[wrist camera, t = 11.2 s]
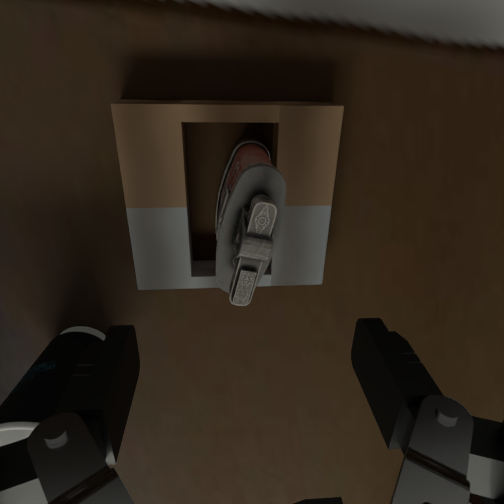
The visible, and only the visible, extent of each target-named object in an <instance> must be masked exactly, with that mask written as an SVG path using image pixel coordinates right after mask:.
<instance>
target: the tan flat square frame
mask: <svg viewBox="0 0 504 504" xmlns="http://www.w3.org/2000/svg"><path fill="white" fill-rule="evenodd" d="M111 109H112V116H113V122H114V129H115V136H116V143H117V150H118V157H119V163H120V170H121V177H122V184H123V191H124V198H125V204H126V211H127V218H128V225H129V232H130V239H131V245H132V252H133V259H134V266H135V273H136V280H137V286H138V290H156V289H188V288H220V287H219V286H218V284H217V282H216V260H206V261H193V250H192V234H191V218H190V202H189V186H188V169H187V153H186V137H185V122H253V123H273V139H272V162H271V163H272V165H273V166H274V167H275V168H276V169H277V170H279V171H280V173H281V174H282V176H283V178H284V180H285V182H286V199H285V209H284V217H283V221H282V225H281V230H280V234H279V238H278V242H277V245H276V247H275V250H274V252H273V255H272V257H271V260H270V263H269V265H268V267H267V269H266V271H265V272H264V274H263V276H262V278H261V280H260V282H259V283H258V285H257V286H283V285H315V284H322V278H323V270H324V262H325V254H326V246H327V238H328V230H329V222H330V214H331V206H332V198H333V190H334V182H335V174H336V166H337V158H338V150H339V142H340V134H341V126H342V118H343V110H344V106H342V105H340V104H337V103H334V102H300V101H215V100H129V99H120V100H118V101H116V102H113V103H111Z"/></svg>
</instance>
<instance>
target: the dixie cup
mask: <svg viewBox="0 0 504 504" xmlns="http://www.w3.org/2000/svg"><path fill="white" fill-rule="evenodd" d="M105 337H106V335H104V334H103V333H102V332H100V331H98V330H96V329H94V328H91V327H85V326H76V327H71V328H68V329H66V330H64V331H63V332H62V333H61V334H60V335H59V336H57V337H55V338H54V339H53V340H52V341H51V342H50V343H49V345H48V346H47V347H46V348H45V350H44V351H43V352H42V353H41V355H40V356H39V357H38V359H37V360H36V361H35V362H34V364H33V365H32V366H31V367H30V369H29V370H28V371H27V373H26V374H25V375H24V376H23V378H22V379H21V380H20V382H19V383H18V384H17V385H16V387H15V388H14V389H13V390H12V392H11V393H10V394H9V396H8V397H7V398H6V399H5V401H4V402H3V403H2V404H1V406H0V447H1V446H4V445H7V444H10V443H13V442H16V441H19V440H22V439H25V438H27V437H29V436H30V434H31V432H32V431H33V430H34V428H35V427H36V426H37V425H38V424H40V423H41V422H42V421H44V420H45V419H47V418H49V417H51V416H53V414H54V413H55V410H56V408H57V406H58V404H59V402H60V400H61V398H62V396H63V394H64V391H65V389H66V387H67V385H68V383H69V381H70V379H71V377H73V372H74V370H75V368H76V366H78V362H79V360H80V358H81V356H82V353H83V352H84V351H85V350H86V349H87V348H88V347H89V346H90V345H91V344H92V343H93V342H94V341H104V340H105Z"/></svg>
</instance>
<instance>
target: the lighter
mask: <svg viewBox="0 0 504 504" xmlns="http://www.w3.org/2000/svg"><path fill="white" fill-rule="evenodd" d="M285 199H286V182H285V180H284V178H283V176H282V174H281V173H280V171H279V170H277V169H276V168H275V167H274V166H273V165H272V163H271V161H270V153H269V151H268V150H267V148H266V146H265V145H264V144H263V143H262V142H260V141H258V140H256V139H244V140H241V141H240V142H238V143H237V144H236V145H235V147H234V148H233V150H232V153H231V155H230V157H229V160H228V162H227V164H226V167H225V169H224V173H223V176H222V179H221V183H220V186H219V191H218V198H217V205H216V240H217V246H216V282H217V284H218V286H219V287H220V288H221V289H222V290H224V291H225V292H227V293H229V298H230V302H231V303H232V304H234V305H238V306H246V305H248V304H249V303H250V301H251V298H252V295H253V292H254V289H255V288H256V286H257V285H258V283H259V282H260V280H261V278H262V276H263V274H264V272H265V271H266V269H267V267H268V265H269V263H270V260H271V257H272V255H273V252H274V250H275V247H276V245H277V242H278V238H279V234H280V230H281V225H282V221H283V217H284V209H285Z"/></svg>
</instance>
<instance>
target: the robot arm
mask: <svg viewBox="0 0 504 504" xmlns="http://www.w3.org/2000/svg"><path fill="white" fill-rule="evenodd" d="M351 360H352V365H353V368H354V371H355V373H356V375H357V378H358V380H359V382H360V385H361V387H362V389H363V392H364V394H365V396H366V398H367V401H368V403H369V405H370V408H371V410H372V412H373V415H374V417H375V419H376V422H377V424H378V426H379V429H380V431H381V433H382V435H383V438H384V440H385V442H386V445H387V447H388V449H399V448H401V450H402V452H403V454H404V459H403V462H402V465H401V469H400V472H399V475H398V479H397V482H396V485H395V489H394V492H393V495H392V499H391V502H390V504H469V495H470V493H472V494H476V495H480V496H481V498H482V500H483V502H484V504H504V420H503V422H502V423H501V422H496V421H492V420H487V419H483V418H478V417H474V416H471V414H470V413H469V411H468V410H467V409H466V408H465V407H464V406H463V405H462V404H460V403H459V402H457V401H456V400H454V399H452V398H449V397H446V396H444V395H443V394H442V392H441V391H440V389H439V388H438V386H437V385H436V383H435V382H434V380H433V379H432V377H431V376H430V374H429V373H428V371H427V370H426V368H425V367H424V365H423V364H422V363H421V362H420V359H419V358H418V356H417V355H416V354H415V353H414V350H413V349H412V347H411V346H410V344H409V343H408V341H407V340H405V339H404V338H403V337H402V336H400V335H399V334H398V333H397V332H395V331H393V332H389V331H388V329H387V328H386V326H385V325H384V323H383V321H382V320H381V319H380V318H359V319H358V320H357V323H356V328H355V333H354V339H353V344H352V350H351ZM139 370H140V358H139V352H138V345H137V339H136V333H135V328H134V326H133V325H117V326H110V328H109V330H108V333H107V335H106V337H105V340H104V341H94V342H93V343H92V344H91V345H90V346H89V347H88V348H87V349H86V350H85V351H84V352H83V353H82V356H81V358H80V360H79V362H78V366H76V368H75V370H74V372H73V377H71V379H70V381H69V383H68V385H67V387H66V389H65V391H64V394H63V396H62V398H61V400H60V402H59V404H58V406H57V408H56V410H55V413H54V414H53V416H51V417H49V418H47V419H45V420H44V421H42V422H41V423H40V424H38V425H37V426H36V427H35V428H34V430H33V431H32V432H31V434H30V436H29V437H27V438H25V439H22V440H19V441H16V442H13V443H10V444H7V445H4V446H1V447H0V504H135V503H134V502H133V500H132V498H131V496H130V495H129V493H128V491H127V489H126V488H125V486H124V484H123V482H122V481H121V479H120V477H119V475H118V474H117V472H116V471H115V469H114V468H111V469H110V467H109V466H108V464H116V461H117V457H118V453H119V449H120V446H121V442H122V438H123V434H124V430H125V426H126V423H127V419H128V415H129V411H130V407H131V403H132V400H133V396H134V392H135V388H136V384H137V381H138V377H139ZM294 504H343V502H342V499H341V497H334V498H319V499H305V500H302V501H299V502H297V503H294Z"/></svg>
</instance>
